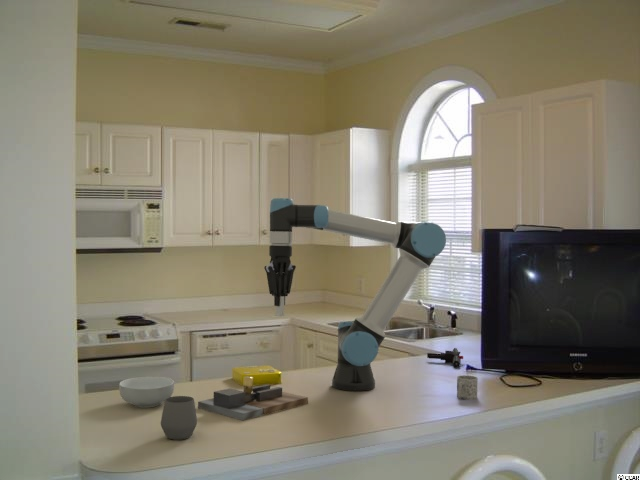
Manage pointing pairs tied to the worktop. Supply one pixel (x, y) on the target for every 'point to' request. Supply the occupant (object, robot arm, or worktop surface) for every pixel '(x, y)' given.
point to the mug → (467, 387)
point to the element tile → (257, 375)
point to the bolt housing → (237, 398)
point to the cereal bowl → (146, 390)
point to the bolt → (249, 389)
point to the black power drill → (448, 357)
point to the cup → (179, 417)
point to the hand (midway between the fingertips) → (279, 315)
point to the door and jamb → (256, 406)
